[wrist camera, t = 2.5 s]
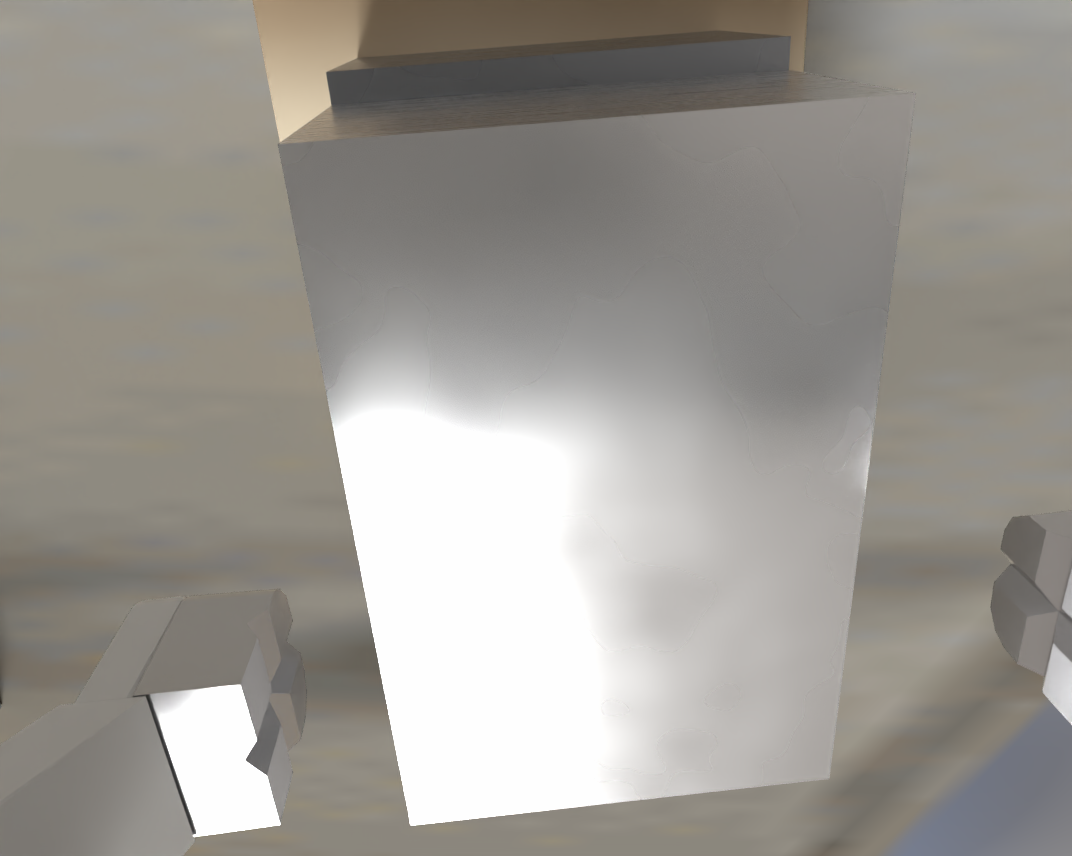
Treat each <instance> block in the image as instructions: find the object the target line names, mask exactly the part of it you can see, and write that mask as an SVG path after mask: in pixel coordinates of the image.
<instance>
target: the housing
mask: <svg viewBox="0 0 1072 856" xmlns="http://www.w3.org/2000/svg"><path fill="white" fill-rule="evenodd" d="M790 44H791V36H782V35H769V34H757V33H745V32H732V31H720V30H717V31H704V32H691V33H677V34H664V35H651V36H638V37H625V38H612V39H599V40H586V41H573V42H560V43H547V44H534V45H521V46H507V47H494V48H481V49H468V50H455V51H442V52H429V53H416V54H403V55H390V56H377V57H364V58H356V59H354V60H352V61H349V62H347V63H345V64H343V65H341V66H338V67H336V68H334V69H332V70H329V71H327V72H326V76H327V82H328V88H329V94H330V100H331V106H330V107H329V108H327V109H326V110H325V111H323V112H322V113H320V114H319V115H318V116H316V117H315V118H313V119H312V120H311V121H309V122H308V123H307V124H305V125H304V126H302V127H301V128H300V129H298V130H297V131H295V132H294V133H293V134H291V135H290V136H289V137H287V138H286V139H284V140H283V141H282V142H280V143H279V144H278V148H279V153H280V158H281V163H282V168H283V174H284V179H285V184H286V189H287V194H288V199H289V204H290V209H291V214H292V220H293V225H294V230H295V235H296V240H297V245H298V250H299V255H300V261H301V266H302V271H303V276H304V281H305V286H306V291H307V296H308V301H309V307H310V312H311V317H312V322H313V327H314V332H315V337H316V342H317V347H318V353H319V358H320V363H321V368H322V373H323V378H324V383H325V388H326V393H327V399H328V404H329V409H330V414H331V419H332V424H333V429H334V434H335V439H336V445H337V450H338V455H339V460H340V465H341V470H342V475H343V480H344V485H345V491H346V496H347V501H348V506H349V511H350V516H351V521H352V526H353V532H354V537H355V542H356V547H357V552H358V557H359V562H360V567H361V572H362V578H363V583H364V588H365V593H366V598H367V603H368V608H369V613H370V618H371V624H372V629H373V634H374V639H375V644H376V649H377V654H378V659H379V664H380V670H381V675H382V680H383V685H384V690H385V695H386V700H387V705H388V710H389V716H390V721H391V726H392V731H393V736H394V741H395V746H396V751H397V756H398V762H399V767H400V772H401V777H402V782H403V787H404V792H405V797H406V802H407V808H408V813H409V818H410V823H411V825H419V824H428V823H437V822H446V821H455V820H464V819H472V818H481V817H490V816H499V815H508V814H517V813H526V812H535V811H544V810H553V809H562V808H571V807H580V806H589V805H598V804H607V803H616V802H625V801H634V800H643V799H652V798H661V797H670V796H679V795H688V794H697V793H706V792H715V791H724V790H733V789H742V788H751V787H760V786H769V785H778V784H787V783H796V782H805V781H814V780H822V779H829V777H830V769H831V761H832V753H833V745H834V737H835V730H836V722H837V714H838V706H839V698H840V690H841V682H842V674H843V666H844V659H845V651H846V643H847V635H848V627H849V619H850V611H851V603H852V595H853V588H854V580H855V572H856V564H857V556H858V548H859V540H860V532H861V524H862V517H863V509H864V501H865V493H866V485H867V477H868V469H869V461H870V453H871V446H872V438H873V430H874V422H875V414H876V406H877V398H878V390H879V382H880V375H881V367H882V359H883V351H884V343H885V335H886V327H887V319H888V311H889V304H890V296H891V288H892V280H893V272H894V264H895V256H896V248H897V240H898V233H899V225H900V217H901V209H902V201H903V193H904V185H905V177H906V169H907V162H908V154H909V146H910V138H911V130H912V122H913V114H914V106H915V99H916V93H913V92H907V91H902V90H897V89H891V88H886V87H880V86H875V85H869V84H864V83H859V82H853V81H848V80H842V79H837V78H831V77H826V76H821V75H815V74H810V73H804V72H799V71H793V70H789V60H790Z"/></svg>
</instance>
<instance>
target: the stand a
mask: <svg viewBox="0 0 1072 856" xmlns="http://www.w3.org/2000/svg"><path fill="white" fill-rule="evenodd" d="M253 5H254V11H255V16H256V21H257V26H258V31H259V36H260V41H261V47H262V52H263V57H264V62H265V67H266V72H267V77H268V83H269V88H270V93H271V98H272V103H273V108H274V114H275V119H276V124H277V129H278V134H279V139H280V142H282V141H283V140H284V139H286V138H287V137H289V136H290V135H291V134H293V133H294V132H295V131H297V130H298V129H300V128H301V127H302V126H304V125H305V124H307V123H308V122H309V121H311V120H312V119H313V118H315V117H316V116H318V115H319V114H320V113H322V112H323V111H325V110H326V109H327V108H329V107H330V106H331V100H330V94H329V88H328V82H327V76H326V72H327V71H329V70H332V69H334V68H336V67H338V66H341V65H343V64H345V63H347V62H349V61H352V60H354V59H356V58H364V57H377V56H390V55H403V54H416V53H429V52H442V51H455V50H468V49H481V48H494V47H507V46H521V45H534V44H547V43H560V42H573V41H586V40H599V39H612V38H625V37H638V36H651V35H664V34H677V33H691V32H704V31H717V30H720V31H732V32H745V33H757V34H769V35H782V36H791V44H790V60H789V70H793V71H799V72H803V70H804V56H805V41H806V27H807V13H808V0H253Z"/></svg>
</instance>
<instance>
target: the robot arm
mask: <svg viewBox="0 0 1072 856" xmlns="http://www.w3.org/2000/svg"><path fill="white" fill-rule="evenodd" d="M1001 551H1002V552H1003V554H1004V555H1005V557H1006V558H1007V560H1008V561H1009V563H1010V565H1009V566H1008V567H1007V568H1006V570H1005V571H1004V572H1003V573H1002V574H1001V575H1000V576H999V577H998V578H997V579H996V581H995V582H994V586H993V593H992V600H991V612H992V617H993V622H994V627H995V631H996V633H997V635H998V637H999V639H1000V641H1001V643H1002V645H1003V647H1004V648H1005V649H1006V651H1007V652H1008V653H1009V654H1010V655H1011V657H1012V658H1013V659H1014V660H1015V661H1016V663H1017V664H1019V665H1021V666H1023V667H1025V668H1028V669H1030V670H1032V671H1034V672H1036V673H1038V674H1040V675H1042V676H1044V678H1043V690H1042V692H1043V693H1044V694H1045V696H1046V697H1047V698H1048V699H1049V700H1050V701H1051V702H1052V703H1053V705H1054V706H1055V707H1056V708H1057V709H1058V710H1059V711H1060V713H1061V714H1062V715H1063V716H1064V717H1065V718H1066V719H1067V720H1068V721H1069V722H1070V724H1071V725H1072V510H1069V511H1061V512H1052V513H1044V514H1035V515H1027V516H1018V517H1013V518H1012V519H1011V521H1010V522H1009V524H1008V525H1007V527H1006V528H1005V530H1004V535H1003V539H1002V544H1001ZM292 622H293V619H292V615H291V612H290V608H289V604H288V601H287V597H286V595H285V594H284V593H283V592H282V591H281V590H280V589H269V590H256V591H244V592H231V593H218V594H206V595H193V596H189V597H185V596H179V597H170V598H161V599H151V600H143V601H141V602H139V603H137V604H135V605H134V606H133V607H132V608H131V610H130V611H129V613H128V615H127V616H126V618H125V620H124V621H123V623H122V625H121V626H120V628H119V630H118V631H117V633H116V635H115V636H114V638H113V640H112V641H111V643H110V645H109V646H108V648H107V650H106V651H105V653H104V655H103V656H102V658H101V660H100V661H99V663H98V665H97V666H96V668H95V670H94V671H93V673H92V675H91V676H90V678H89V679H88V681H87V683H86V684H85V686H84V688H83V689H82V691H81V693H80V694H79V696H78V698H77V699H76V701H75V703H74V704H65V705H58V706H57V707H55V708H54V709H52V710H51V711H49V712H48V713H46V714H45V715H43V716H42V717H40V718H39V719H37V720H36V721H34V722H33V723H31V724H30V725H29V726H27V727H26V728H24V729H23V730H21V731H20V732H18V733H17V734H15V735H14V736H12V737H11V738H9V739H8V740H6V741H5V742H3V743H2V744H0V856H183V855H184V853H185V852H186V851H187V850H188V849H189V848H190V847H191V845H192V844H193V843H194V842H195V839H194V837H195V836H203V835H210V834H217V833H224V832H232V831H239V830H246V829H254V828H261V827H268V826H275V825H280V823H281V819H282V815H283V811H284V806H285V802H286V798H287V794H288V790H289V786H290V782H291V778H292V774H293V770H292V766H291V762H290V758H289V754H288V751H289V750H290V749H291V748H292V747H293V746H294V745H296V744H297V743H298V742H299V741H300V740H301V737H302V732H303V728H304V723H305V718H306V699H307V689H306V679H305V670H304V666H303V661H302V657H301V653H300V652H299V651H298V650H297V649H295V648H294V647H293V646H292V645H290V644H289V643H288V642H287V639H288V635H289V632H290V629H291V625H292Z"/></svg>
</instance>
